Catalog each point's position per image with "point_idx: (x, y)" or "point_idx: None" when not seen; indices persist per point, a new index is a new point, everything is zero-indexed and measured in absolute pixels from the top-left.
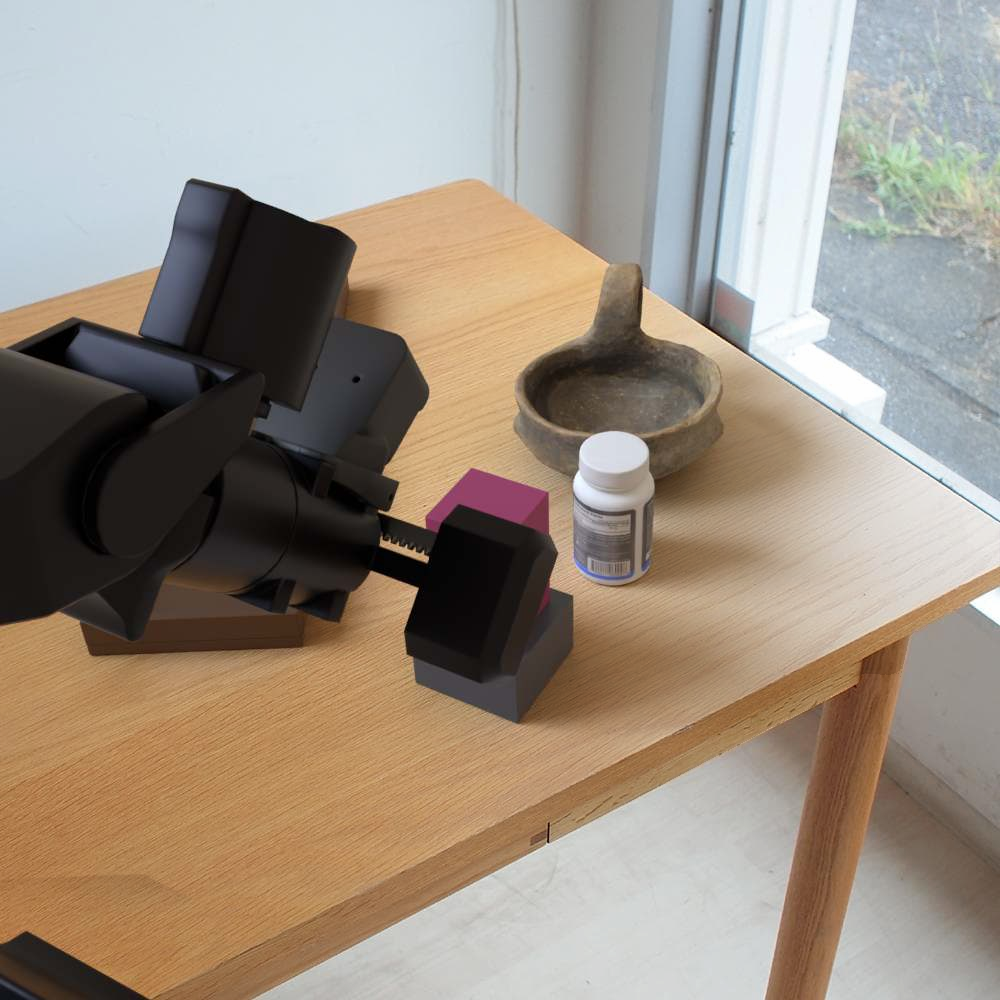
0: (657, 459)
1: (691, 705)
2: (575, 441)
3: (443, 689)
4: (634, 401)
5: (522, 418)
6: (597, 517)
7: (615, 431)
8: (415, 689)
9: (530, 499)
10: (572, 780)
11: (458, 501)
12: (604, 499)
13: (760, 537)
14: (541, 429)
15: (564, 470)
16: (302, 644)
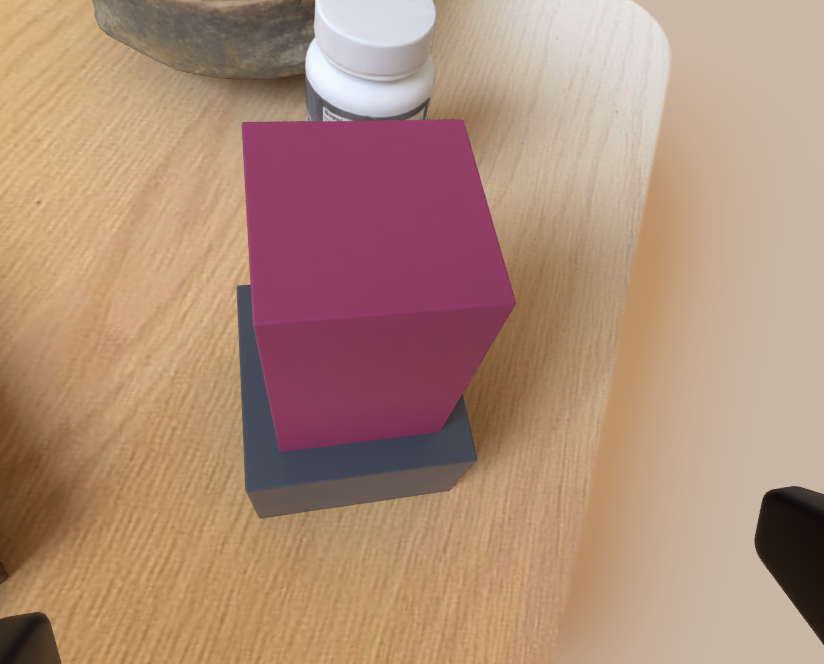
0: None
1: (597, 331)
2: (248, 16)
3: (316, 508)
4: None
5: (122, 5)
6: None
7: None
8: (267, 529)
9: (448, 153)
10: (578, 530)
11: (298, 232)
12: (391, 96)
13: (479, 83)
14: (177, 12)
15: (234, 72)
16: (6, 576)
